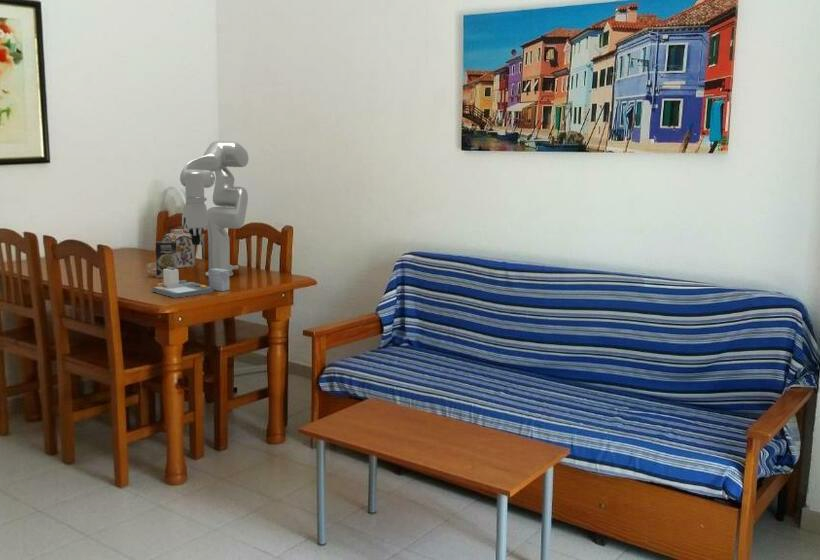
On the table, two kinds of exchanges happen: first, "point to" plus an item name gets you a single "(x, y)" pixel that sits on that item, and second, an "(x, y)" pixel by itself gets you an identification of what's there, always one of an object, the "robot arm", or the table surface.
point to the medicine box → (219, 279)
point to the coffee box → (165, 256)
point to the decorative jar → (182, 247)
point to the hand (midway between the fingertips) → (195, 244)
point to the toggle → (171, 276)
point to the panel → (182, 289)
